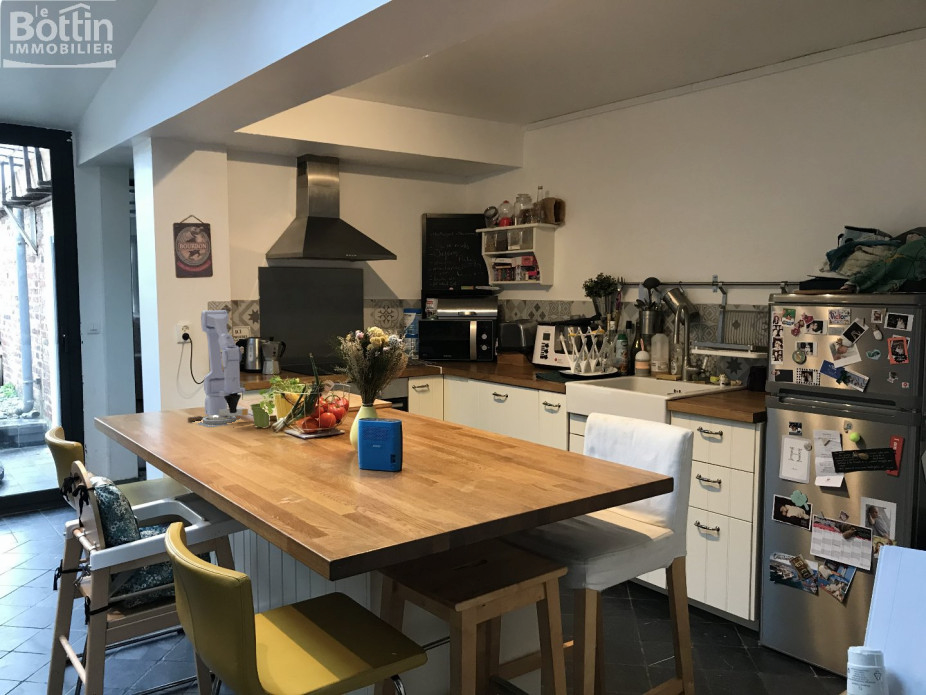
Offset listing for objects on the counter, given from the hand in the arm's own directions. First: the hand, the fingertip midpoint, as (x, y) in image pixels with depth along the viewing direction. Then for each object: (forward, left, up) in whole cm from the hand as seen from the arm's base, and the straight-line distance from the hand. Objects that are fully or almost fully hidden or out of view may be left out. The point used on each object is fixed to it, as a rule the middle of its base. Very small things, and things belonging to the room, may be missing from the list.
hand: (233, 412), depth 291 cm
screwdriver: (-12, -6, -4) cm, 14 cm away
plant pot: (+15, +4, -5) cm, 16 cm away
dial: (-3, -1, -3) cm, 4 cm away
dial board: (-5, -3, -4) cm, 7 cm away
